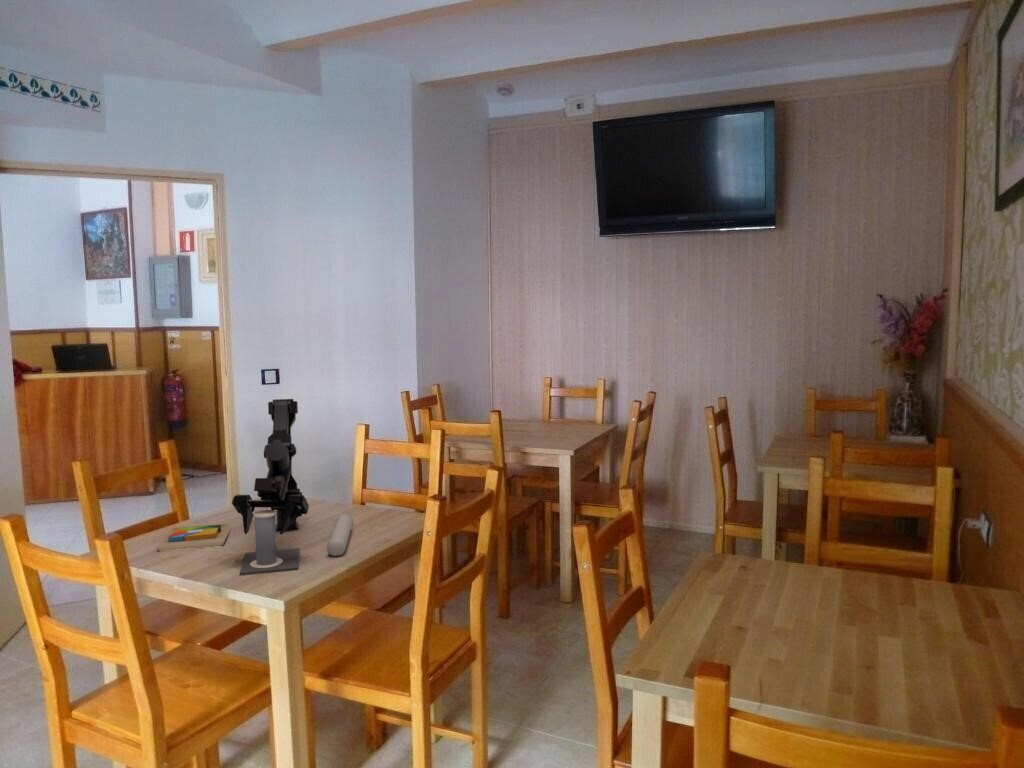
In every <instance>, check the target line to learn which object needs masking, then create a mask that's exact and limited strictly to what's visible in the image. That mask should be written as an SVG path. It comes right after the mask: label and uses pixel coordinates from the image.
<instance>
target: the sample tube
mask: <svg viewBox="0 0 1024 768" xmlns="http://www.w3.org/2000/svg"><path fill="white" fill-rule="evenodd" d="M253 515H254V516H253V518H254V532H255V533H254V535H255V552H256V564H258V565H271V564H274V563H276V562H277V552H276V550H277V535H276V534H277V531H276V516H277V512H276V510H271V509H263V510H258V511H254V513H253Z"/></svg>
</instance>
